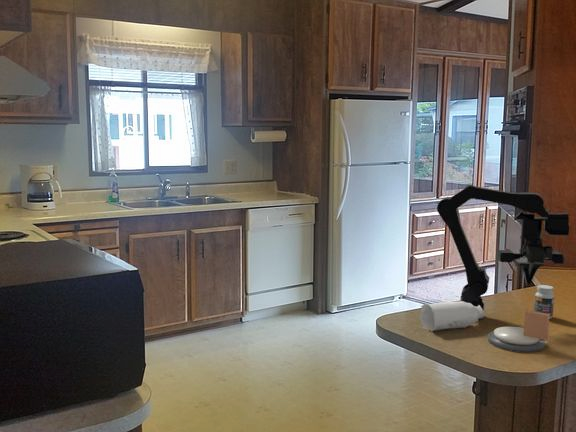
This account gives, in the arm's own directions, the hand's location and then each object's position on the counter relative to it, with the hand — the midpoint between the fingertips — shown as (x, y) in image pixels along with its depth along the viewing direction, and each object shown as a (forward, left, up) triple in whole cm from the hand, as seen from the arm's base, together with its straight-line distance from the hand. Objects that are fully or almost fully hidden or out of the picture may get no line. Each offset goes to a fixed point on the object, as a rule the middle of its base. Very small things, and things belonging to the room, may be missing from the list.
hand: (528, 284), depth 189 cm
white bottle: (-24, -8, -12) cm, 29 cm away
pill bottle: (+7, +6, -12) cm, 15 cm away
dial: (-7, -20, -11) cm, 24 cm away
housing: (-8, -20, -12) cm, 25 cm away
